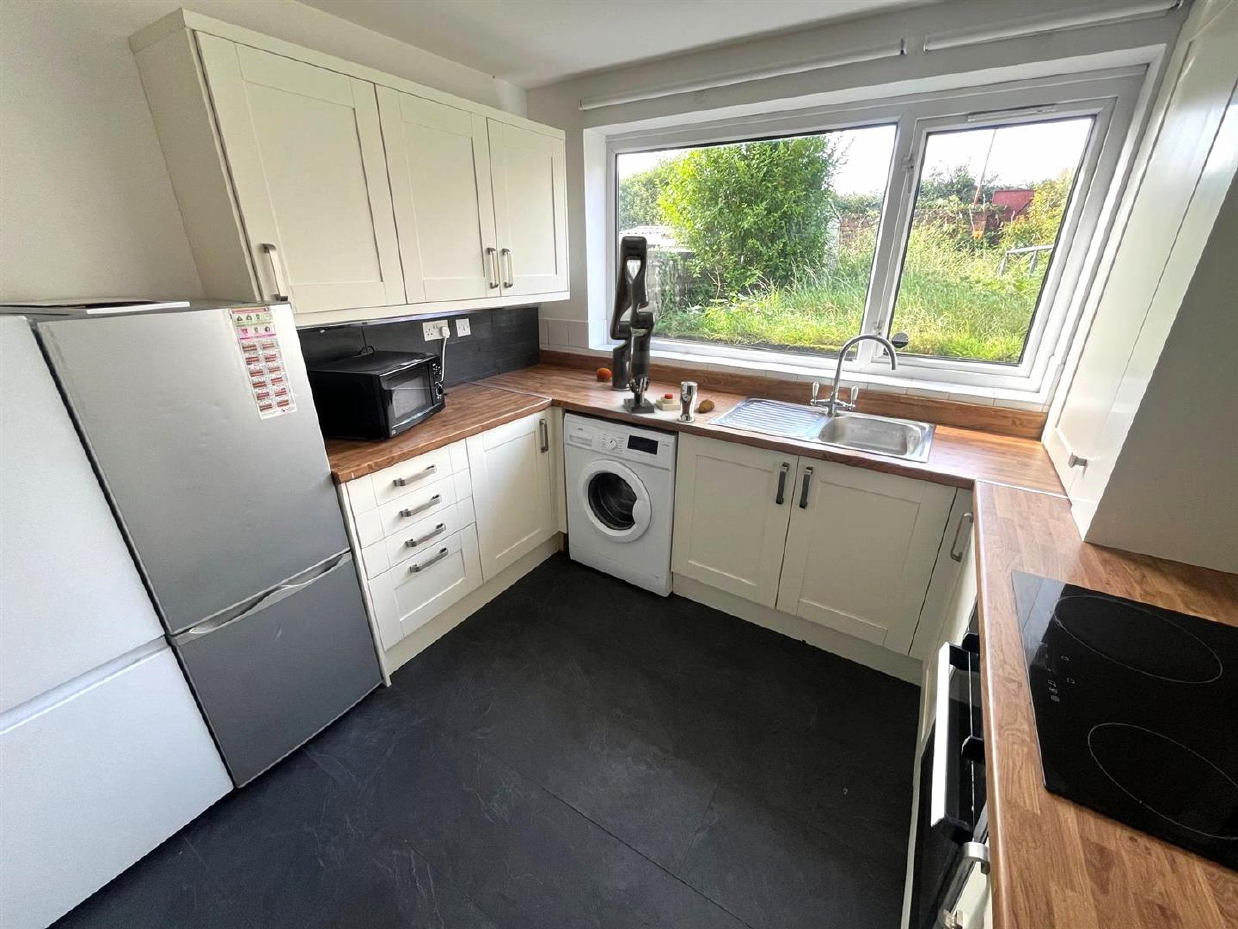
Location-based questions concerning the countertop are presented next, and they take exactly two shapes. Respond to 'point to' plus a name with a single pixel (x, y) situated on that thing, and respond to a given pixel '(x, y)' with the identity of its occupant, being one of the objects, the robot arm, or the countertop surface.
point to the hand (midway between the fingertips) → (639, 401)
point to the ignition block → (668, 404)
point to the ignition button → (668, 396)
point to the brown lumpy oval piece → (706, 406)
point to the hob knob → (640, 397)
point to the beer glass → (687, 401)
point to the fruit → (603, 374)
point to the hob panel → (638, 406)
